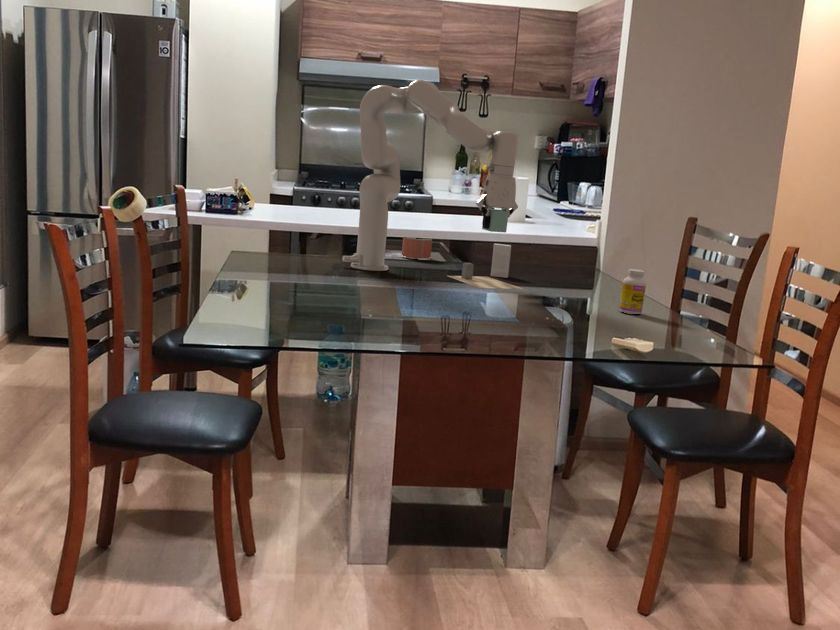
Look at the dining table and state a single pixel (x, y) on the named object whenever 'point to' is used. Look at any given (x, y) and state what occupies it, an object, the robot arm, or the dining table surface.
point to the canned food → (416, 247)
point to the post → (467, 271)
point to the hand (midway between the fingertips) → (494, 228)
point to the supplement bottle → (633, 292)
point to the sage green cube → (498, 221)
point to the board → (486, 282)
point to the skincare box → (500, 260)
